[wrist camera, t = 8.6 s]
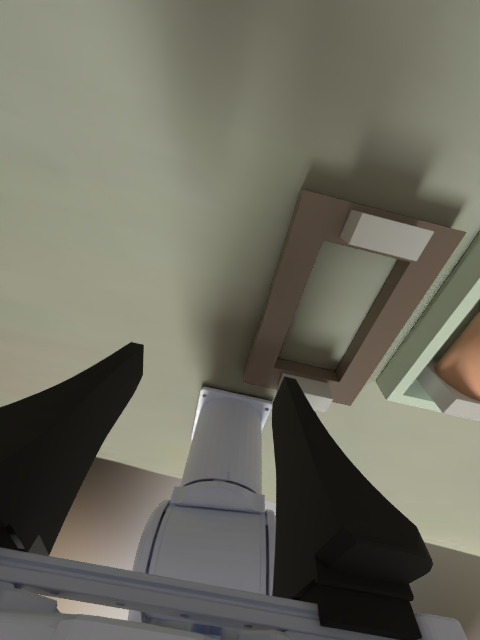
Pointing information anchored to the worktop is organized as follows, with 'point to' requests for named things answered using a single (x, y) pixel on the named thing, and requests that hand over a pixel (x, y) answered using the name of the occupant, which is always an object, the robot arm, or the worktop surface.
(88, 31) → the worktop surface
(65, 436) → the robot arm
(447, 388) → the fuse
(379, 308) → the frame
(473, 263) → the parts tray
